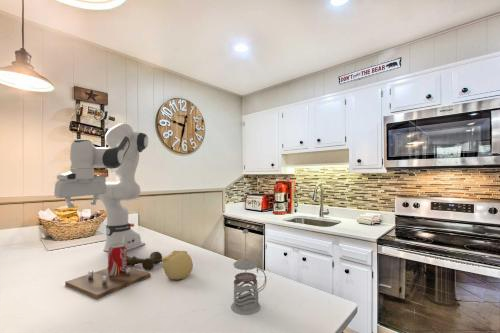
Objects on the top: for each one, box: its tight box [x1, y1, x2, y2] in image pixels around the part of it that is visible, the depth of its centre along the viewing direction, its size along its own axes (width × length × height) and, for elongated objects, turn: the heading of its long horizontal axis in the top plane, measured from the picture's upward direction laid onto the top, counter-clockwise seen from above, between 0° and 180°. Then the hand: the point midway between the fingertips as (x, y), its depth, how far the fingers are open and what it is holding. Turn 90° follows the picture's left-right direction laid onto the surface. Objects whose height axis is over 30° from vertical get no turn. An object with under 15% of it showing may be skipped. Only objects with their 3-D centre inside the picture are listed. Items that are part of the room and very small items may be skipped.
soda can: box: [107, 243, 128, 277], centre depth 105 cm, size 7×7×12 cm
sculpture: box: [161, 250, 194, 280], centre depth 106 cm, size 12×12×11 cm
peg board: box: [64, 266, 151, 300], centre depth 102 cm, size 22×22×4 cm
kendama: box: [127, 251, 163, 271], centre depth 118 cm, size 6×10×20 cm
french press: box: [230, 228, 267, 316], centre depth 82 cm, size 10×12×25 cm
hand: (82, 206), depth 112 cm, fingers open, 8 cm apart
